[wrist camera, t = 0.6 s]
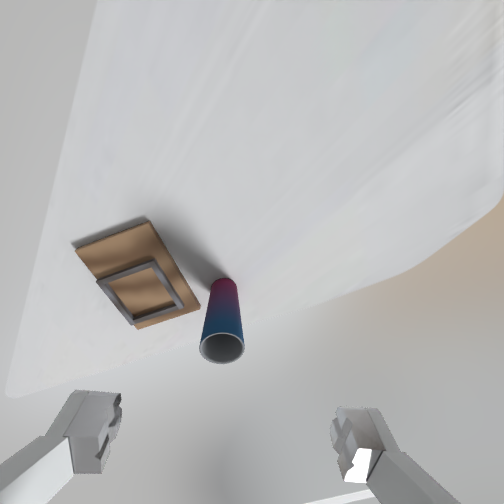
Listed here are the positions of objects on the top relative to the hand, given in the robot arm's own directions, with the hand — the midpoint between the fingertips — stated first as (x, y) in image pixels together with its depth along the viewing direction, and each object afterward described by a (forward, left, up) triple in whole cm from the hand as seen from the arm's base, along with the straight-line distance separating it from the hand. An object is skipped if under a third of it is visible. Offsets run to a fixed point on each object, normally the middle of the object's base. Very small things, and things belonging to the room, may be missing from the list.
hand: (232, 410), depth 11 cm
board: (+13, -23, -39) cm, 47 cm away
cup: (+21, -10, -39) cm, 45 cm away
